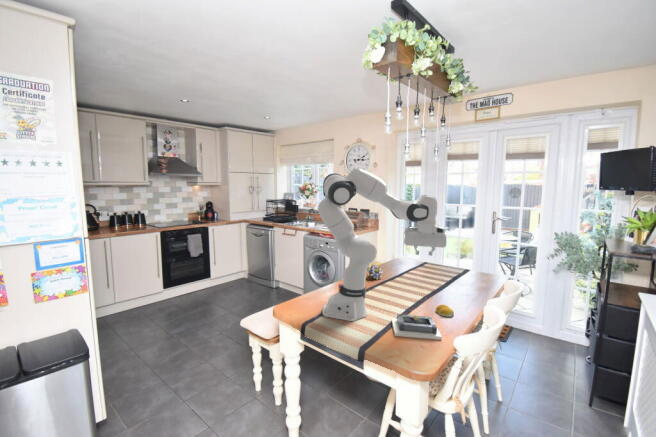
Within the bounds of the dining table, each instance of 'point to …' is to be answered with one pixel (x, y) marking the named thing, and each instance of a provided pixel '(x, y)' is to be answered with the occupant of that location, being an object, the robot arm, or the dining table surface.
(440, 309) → the bread roll
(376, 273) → the passion flower
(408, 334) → the plate
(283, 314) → the dining table surface
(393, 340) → the dining table surface
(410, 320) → the dark grey rectangular frame
